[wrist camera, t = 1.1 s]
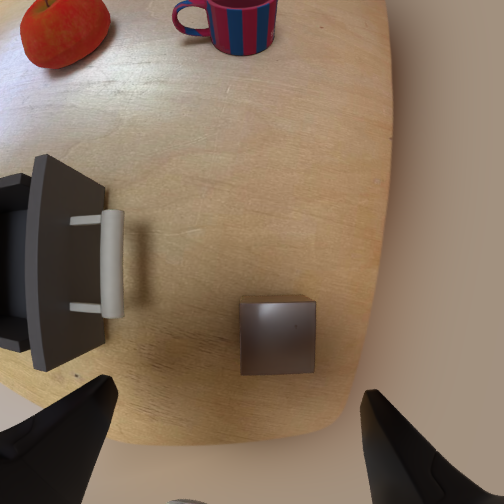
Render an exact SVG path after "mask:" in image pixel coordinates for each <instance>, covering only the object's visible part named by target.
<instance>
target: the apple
mask: <svg viewBox="0 0 504 504" xmlns="http://www.w3.org/2000/svg"><path fill="white" fill-rule="evenodd" d="M110 23H111V20H110V13H109V11H108V10H107V8H106V6H105V4H104V3H103V1H102V0H36V1H35V2H34V3H33V4H32V5H31V7H30V8H29V9H28V10H27V12H26V13H25V15H24V17H23V19H22V22H21V24H20V35H21V40H22V44H23V47H24V51H25V54H26V56H27V57H28V59H29V60H30V61H31V62H32V63H33V64H35V65H36V66H38V67H41V68H50V69H60V68H62V67H65V66H68V65H71V64H73V63H74V62H76V61H78V60H80V59H82V58H84V57H85V56H87V55H88V54H90V53H91V52H93V51H94V50H95V49H96V48H97V47H98V46H99V45H100V44H101V42H102V41H103V39H104V38H105V36H106V35H107V32H108V29H109V26H110Z"/></svg>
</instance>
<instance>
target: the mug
mask: <svg viewBox="0 0 504 504" xmlns="http://www.w3.org/2000/svg"><path fill="white" fill-rule="evenodd" d="M277 2H278V0H186V1H182V2H180V3H178V4H177V5H176V6H175V8H174V9H173V13H172V20H173V23H174V26H175V27H176V29H177V30H178V31H179V32H182V33H184V34H187V35H191V36H202V37H207V36H210V37H211V40H212V43H213V45H214V46H215V47H216V48H217V49H219V50H220V51H222V52H224V53H227V54H231V55H240V56H243V55H252V54H256V53H259V52H261V51H263V50H265V49H266V48H268V47H269V46H270V45H271V43H272V42H273V40H274V32H275V22H276V12H277ZM189 6H196V7H200V8H203V9H205V10H206V13H207V19H208V24H209V28H206V29H192V28H188V27H185V26H183V25H182V24H181V23H180V22H179V21H178V19H177V14H178V12H179V11H180V10H181V9H183V8H185V7H189Z"/></svg>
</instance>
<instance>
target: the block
mask: <svg viewBox="0 0 504 504" xmlns="http://www.w3.org/2000/svg"><path fill="white" fill-rule="evenodd" d="M239 320H240V370H241V375H284V374H303V373H314V372H315V344H316V301H314V300H312V299H310V298H308V297H306V296H304V295H271V296H242V297H241V300H240V303H239Z"/></svg>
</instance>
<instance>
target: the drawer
mask: <svg viewBox="0 0 504 504" xmlns="http://www.w3.org/2000/svg"><path fill="white" fill-rule="evenodd" d="M104 194H105V187H104V186H102V185H100V184H98V183H97V182H95V181H93V180H92V179H90V178H88V177H86V176H85V175H83V174H81V173H79V172H78V171H76V170H74V169H72V168H71V167H69V166H67V165H66V164H64V163H62V162H60V161H59V160H57V159H55V158H54V157H52V156H50V155H48V154H46V155H41V156H37V157H35V161H34V166H33V172H32V177H30V176H28V175H25V174H23V173H19V174H14V175H10V176H6V177H2V178H0V347H1V348H4V349H8V350H11V351H15V352H19V353H21V352H24V351H27V350H30V349H31V355H32V361H33V367H34V369H36V370H40V371H44V372H48V371H50V370H52V369H54V368H56V367H58V366H60V365H62V364H64V363H66V362H68V361H70V360H72V359H74V358H76V357H78V356H80V355H82V354H84V353H86V352H88V351H90V350H92V349H94V348H96V347H98V346H100V345H102V344H104V343H105V335H104V322H103V318H110V319H115V318H123V317H124V316H125V315H124V291H123V235H124V211H121V210H113V209H110V210H103V207H104Z"/></svg>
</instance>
